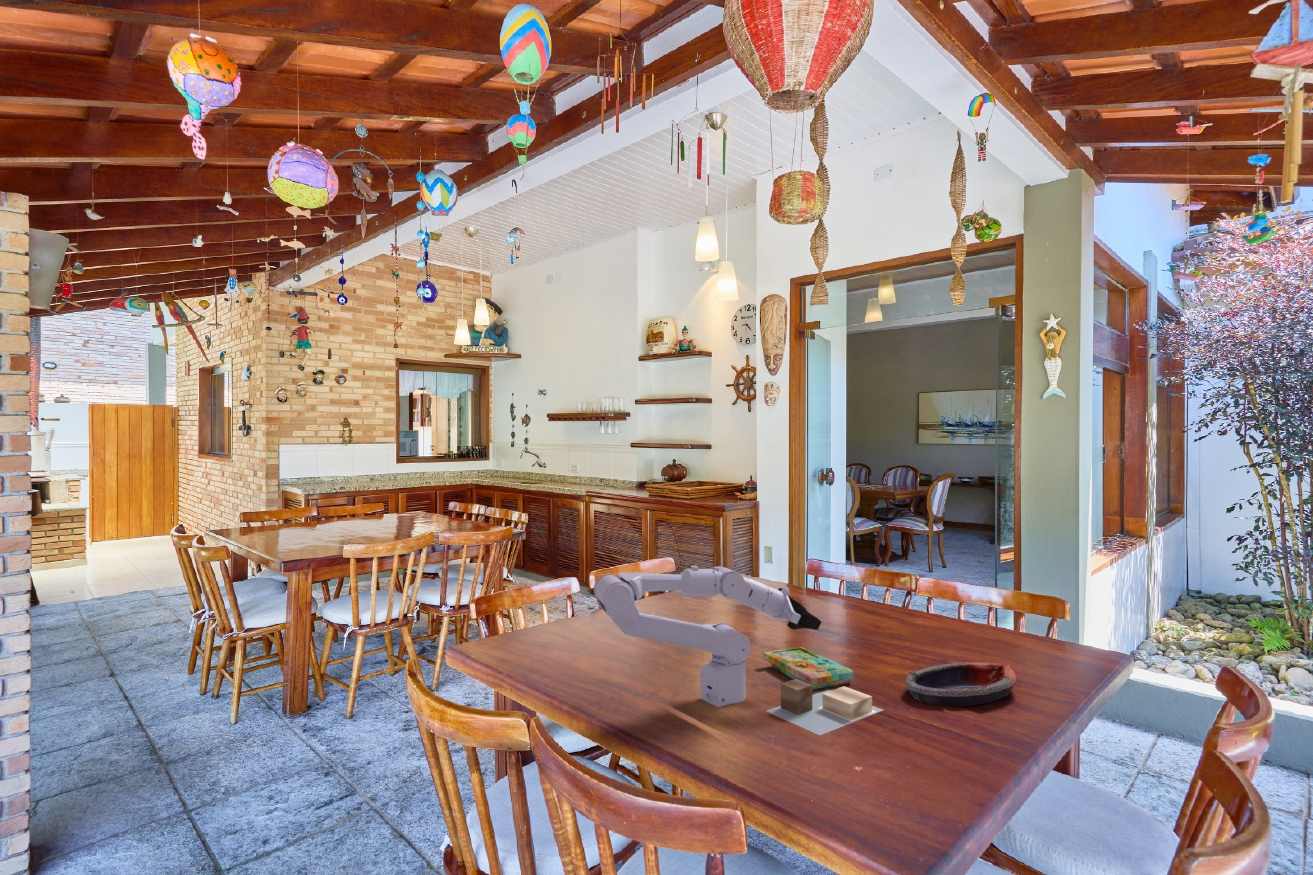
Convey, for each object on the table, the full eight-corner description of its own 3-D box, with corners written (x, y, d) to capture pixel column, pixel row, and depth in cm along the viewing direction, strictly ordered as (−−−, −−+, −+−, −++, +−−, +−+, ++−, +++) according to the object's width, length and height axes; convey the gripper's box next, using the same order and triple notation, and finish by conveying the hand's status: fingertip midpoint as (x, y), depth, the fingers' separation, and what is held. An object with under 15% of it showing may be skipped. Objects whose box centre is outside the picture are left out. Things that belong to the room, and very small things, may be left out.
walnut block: (797, 715, 132) (797, 690, 132) (780, 707, 136) (780, 683, 136) (812, 709, 135) (812, 685, 135) (795, 702, 138) (795, 678, 138)
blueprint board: (819, 739, 123) (819, 735, 123) (765, 714, 134) (765, 710, 134) (883, 713, 135) (883, 709, 135) (828, 693, 146) (828, 689, 146)
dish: (885, 692, 147) (885, 670, 147) (984, 674, 159) (984, 653, 159) (939, 719, 132) (939, 694, 132) (1044, 697, 144) (1044, 674, 144)
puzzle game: (811, 675, 145) (762, 648, 163) (811, 696, 145) (762, 667, 163) (853, 667, 149) (801, 643, 168) (853, 688, 149) (801, 661, 168)
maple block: (850, 719, 130) (850, 704, 130) (822, 708, 135) (822, 693, 135) (872, 711, 134) (872, 696, 134) (844, 700, 139) (843, 686, 140)
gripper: (783, 592, 137) (834, 615, 141) (756, 570, 151) (804, 590, 155) (768, 622, 137) (820, 644, 141) (743, 597, 151) (791, 617, 155)
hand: (810, 618), depth 148 cm, fingers open, 7 cm apart
